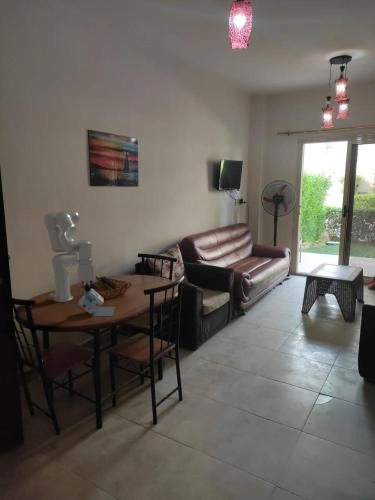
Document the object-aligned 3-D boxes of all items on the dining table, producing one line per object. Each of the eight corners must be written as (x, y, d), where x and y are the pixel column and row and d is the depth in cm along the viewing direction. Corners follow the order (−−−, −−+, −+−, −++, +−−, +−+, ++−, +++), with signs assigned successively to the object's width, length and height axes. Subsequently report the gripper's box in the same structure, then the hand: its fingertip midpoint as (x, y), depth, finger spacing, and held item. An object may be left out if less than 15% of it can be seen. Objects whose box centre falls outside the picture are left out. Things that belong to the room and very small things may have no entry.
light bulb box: (77, 303, 212) (90, 291, 211) (78, 299, 218) (91, 287, 218) (91, 314, 216) (103, 303, 215) (91, 310, 222) (104, 298, 222)
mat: (91, 316, 211) (91, 316, 211) (96, 307, 227) (96, 307, 227) (111, 316, 212) (111, 315, 212) (115, 307, 228) (115, 306, 228)
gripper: (71, 263, 208) (73, 293, 211) (97, 262, 209) (99, 292, 212) (74, 260, 215) (76, 290, 218) (99, 260, 216) (101, 289, 219)
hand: (87, 291), depth 215 cm, fingers closed
